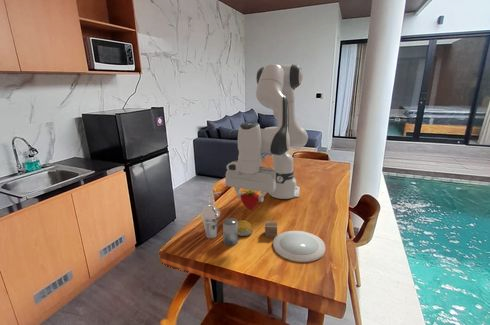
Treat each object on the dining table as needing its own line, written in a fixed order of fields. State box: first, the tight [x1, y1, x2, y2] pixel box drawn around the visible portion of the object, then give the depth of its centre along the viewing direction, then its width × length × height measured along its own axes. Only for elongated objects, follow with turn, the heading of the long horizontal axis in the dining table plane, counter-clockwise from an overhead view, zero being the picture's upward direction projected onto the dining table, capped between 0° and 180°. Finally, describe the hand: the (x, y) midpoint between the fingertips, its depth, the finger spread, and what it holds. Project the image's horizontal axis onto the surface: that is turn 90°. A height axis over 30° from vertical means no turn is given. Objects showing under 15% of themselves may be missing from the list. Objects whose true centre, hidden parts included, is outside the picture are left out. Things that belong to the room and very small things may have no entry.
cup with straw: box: [199, 190, 223, 239], centre depth 109 cm, size 8×9×20 cm
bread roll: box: [237, 220, 254, 237], centre depth 114 cm, size 8×9×4 cm
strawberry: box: [240, 190, 260, 212], centre depth 103 cm, size 6×8×10 cm
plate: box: [272, 230, 326, 263], centre depth 103 cm, size 20×20×1 cm
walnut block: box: [264, 220, 278, 239], centre depth 111 cm, size 5×5×5 cm
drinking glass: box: [222, 217, 239, 247], centre depth 106 cm, size 6×6×9 cm
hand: (250, 199), depth 103 cm, fingers closed on strawberry, 7 cm apart
